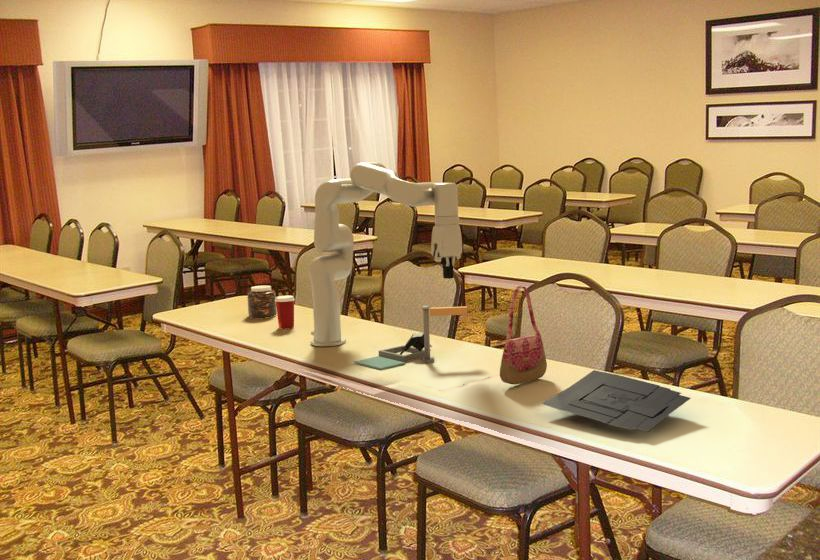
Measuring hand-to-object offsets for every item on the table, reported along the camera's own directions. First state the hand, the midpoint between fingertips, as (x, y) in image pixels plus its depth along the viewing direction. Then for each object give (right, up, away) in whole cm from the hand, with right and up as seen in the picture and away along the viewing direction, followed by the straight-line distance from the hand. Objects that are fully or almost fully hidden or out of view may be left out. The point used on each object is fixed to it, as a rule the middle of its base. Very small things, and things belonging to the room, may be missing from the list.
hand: (448, 278), depth 280 cm
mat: (-22, -28, +1) cm, 36 cm away
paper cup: (-61, -21, +61) cm, 89 cm away
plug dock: (-12, -27, +7) cm, 30 cm away
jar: (-74, -19, +84) cm, 114 cm away
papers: (+41, -34, -59) cm, 79 cm away
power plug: (-14, -28, +11) cm, 33 cm away
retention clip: (-1, -14, -1) cm, 14 cm away
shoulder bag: (+21, -30, -28) cm, 46 cm away
